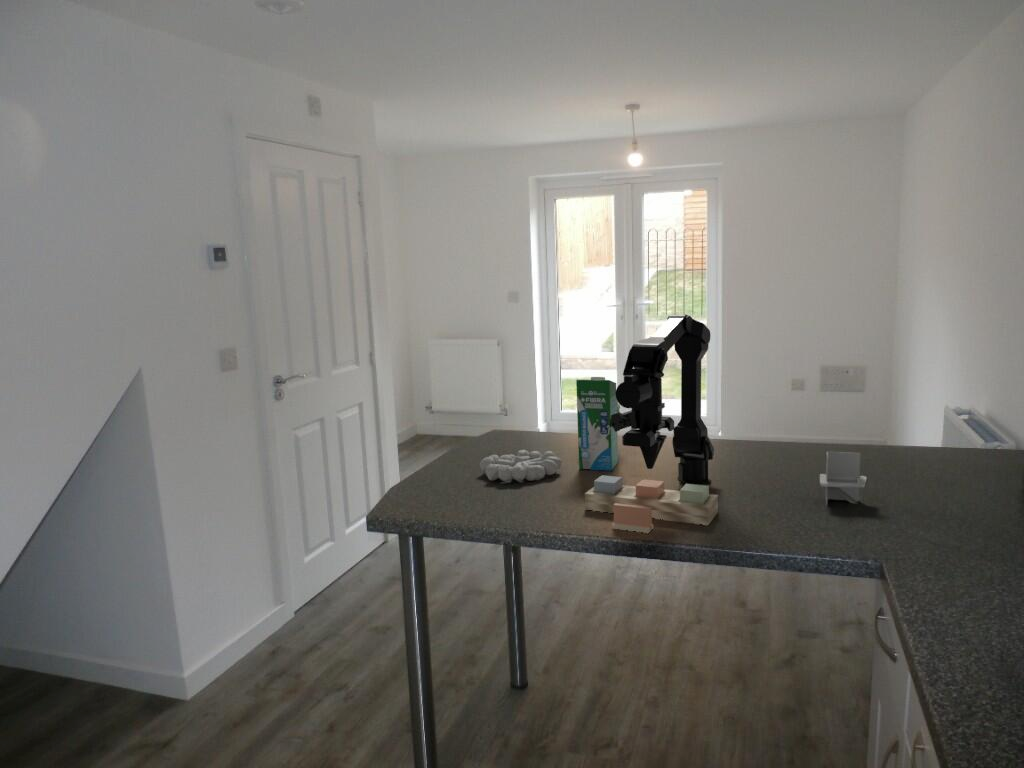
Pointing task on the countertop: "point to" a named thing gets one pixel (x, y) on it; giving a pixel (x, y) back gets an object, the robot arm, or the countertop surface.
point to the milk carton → (596, 424)
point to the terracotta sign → (632, 518)
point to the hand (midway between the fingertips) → (649, 468)
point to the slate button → (608, 484)
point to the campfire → (521, 466)
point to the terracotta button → (650, 489)
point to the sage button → (694, 493)
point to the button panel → (656, 505)
